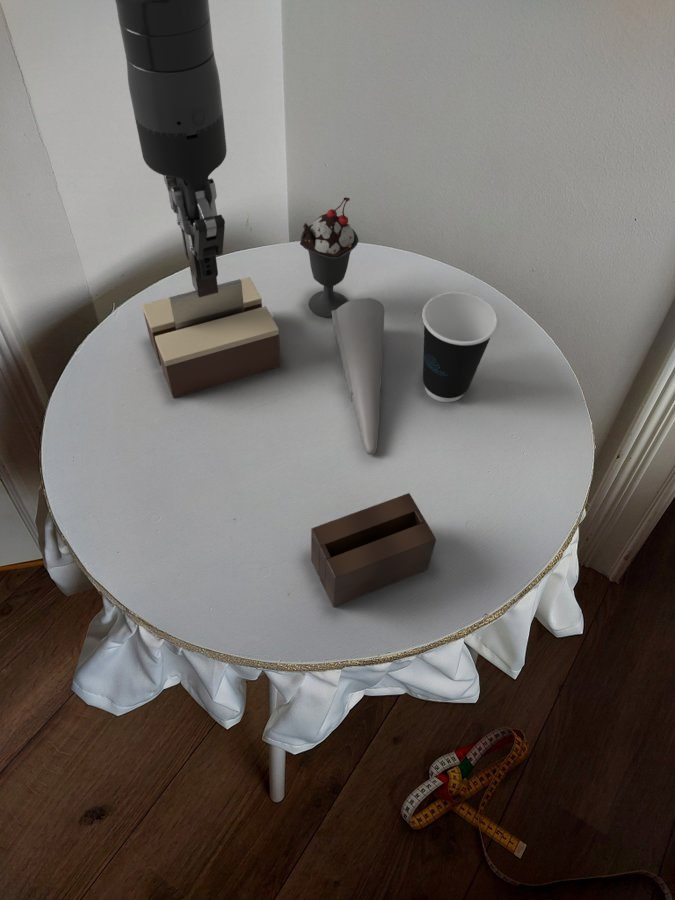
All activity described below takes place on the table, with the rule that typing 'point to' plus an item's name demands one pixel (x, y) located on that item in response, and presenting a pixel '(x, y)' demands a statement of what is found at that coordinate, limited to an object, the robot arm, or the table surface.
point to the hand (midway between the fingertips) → (202, 266)
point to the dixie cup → (454, 342)
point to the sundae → (328, 257)
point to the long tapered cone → (362, 361)
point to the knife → (206, 300)
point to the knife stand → (371, 549)
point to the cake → (213, 344)
